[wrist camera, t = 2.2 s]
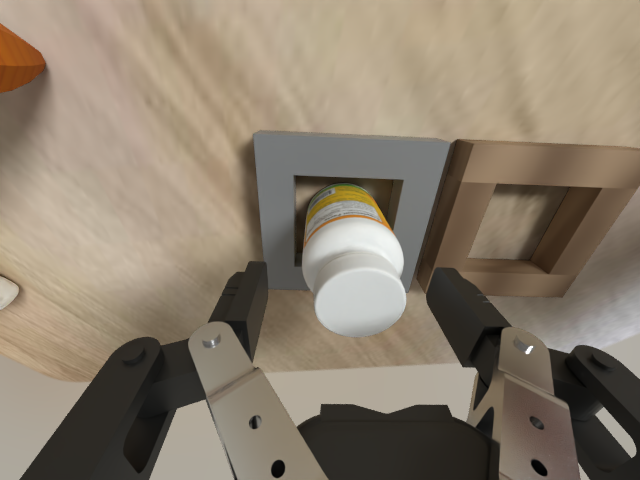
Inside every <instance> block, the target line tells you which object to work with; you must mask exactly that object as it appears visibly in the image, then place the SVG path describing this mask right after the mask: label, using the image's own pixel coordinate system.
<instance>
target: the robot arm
mask: <svg viewBox="0 0 640 480" xmlns="http://www.w3.org/2000/svg"><path fill="white" fill-rule="evenodd" d="M267 300H268V276H267V264H266V262H255V261H250V262H249V263H248V266H247V268H246V270H245V272H236V273H235V274H234V275H233V276H232V277H231V278H230V279H229V280H228V282H227V284H226V286H225V289H224V290H223V292H222V296H221V297H220V299H219V301H218V303H217V305H216V307H215V309H214V311H213V313H212V315H211V317H210V319H209V321H208V323H207V324H205V325H203V326H201V327H199V328H198V329H197V330H195V331H194V333H193V334H192V335H191V337H190V338H188V339H186V340H182V341H179V342H174V343H170V344H166V345H162V346H161V345H160V343H159V341H158V340H157V339H155V338H152V337H142V338H137V339H134V340H132V341H129V342H127V343H126V344H124V345H122V346H121V347H119V348H118V349H117V350H116V351H115V352H114V353H113V354H112V355H111V356H110V357H109V359H108V360H107V361H106V363H105V364H104V366H103V367H102V368H101V370H100V371H99V372H98V374H97V375H96V376H95V378H94V379H93V380H92V382H91V383H90V385H89V386H88V387H87V389H86V390H85V391H84V393H83V394H82V396H81V397H80V398H79V400H78V401H77V402H76V404H75V405H74V406H73V408H72V409H71V410H70V412H69V413H68V414H67V416H66V417H65V419H64V420H63V421H62V423H61V424H60V426H59V427H58V428H57V429H56V431H55V432H54V434H53V435H52V436H51V438H50V439H49V440H48V442H47V443H46V444H45V446H44V447H43V449H42V450H41V451H40V453H39V454H38V455H37V457H36V458H35V459H34V461H33V462H32V463H31V465H30V466H29V468H28V469H27V470H26V472H25V473H24V474H23V476H22V477H21V478H20V480H149V478H150V476H151V473H152V471H153V468H154V465H155V463H156V460H157V458H158V455H159V452H160V450H161V448H162V445H163V443H164V440H165V437H166V435H167V432H168V430H169V427H170V425H171V422H172V419H173V417H174V415H175V412H176V410H177V408H180V407H183V406H186V405H189V404H192V403H195V402H198V401H201V400H205V399H206V402H207V405H208V408H209V410H210V413H211V416H212V419H213V421H214V424H215V427H216V430H217V433H218V435H219V438H220V441H221V443H222V446H223V449H224V452H225V455H226V458H227V461H228V464H229V466H230V469H231V472H232V475H233V478H234V480H581V479H580V473H579V467H578V463H579V464H580V466H581V467H582V469H583V470H584V472H585V473H586V474H587V476H588V477H589V479H590V480H640V379H639V378H637V377H636V376H635V375H634V374H633V373H632V372H631V371H630V370H629V369H628V368H626V367H625V366H624V365H623V364H622V363H621V362H619V361H618V360H617V359H615V358H614V357H612V356H610V355H609V354H607V353H605V352H603V351H601V350H599V349H597V348H594V347H591V346H586V345H578V346H576V347H575V348H574V349H573V350H572V351H571V353H570V354H568V353H565V352H561V351H557V350H553V349H549V348H547V347H546V345H545V344H544V343H543V342H542V341H541V340H540V339H538V338H537V337H536V336H534V335H533V334H531V333H529V332H527V331H525V330H522V329H519V328H515V327H512V326H511V325H510V324H509V323H508V322H507V320H506V319H505V318H504V317H503V316H502V315H501V314H500V312H499V311H498V310H497V309H496V308H495V307H494V306H493V305H492V303H489V300H488V299H487V298H486V297H485V296H483V293H482V292H481V291H480V290H479V289H478V288H477V286H476V285H474V284H473V283H471V282H470V281H468V280H467V279H464V278H463V277H462V276H461V275H460V274H459V272H458V271H457V270H456V269H455V268H447V267H437V268H435V270H434V272H433V275H432V278H431V281H430V284H429V287H428V290H427V293H426V300H427V304H428V306H429V308H430V310H431V311H432V313H433V315H434V317H435V319H436V320H437V322H438V324H439V326H440V327H441V329H442V331H443V333H444V335H445V336H446V338H447V340H448V342H449V344H450V345H451V347H452V349H453V351H454V352H455V354H456V356H457V358H458V360H459V361H460V363H461V365H462V367H475V368H476V369H477V371H478V372H477V374H476V376H475V380H474V386H473V391H472V398H471V403H470V408H469V414H468V418H467V421H466V422H464V421H462V420H460V419H457V418H455V417H452V415H451V413H450V410H449V408H448V406H447V405H414V406H411V407H408V408H405V409H402V410H399V411H396V412H392V413H389V414H385V413H381V412H377V411H374V410H371V409H367V408H364V407H360V406H356V405H353V404H321V410H320V411H321V412H320V415H317V416H314V417H312V418H310V419H308V420H306V421H304V422H303V423H301V424H300V425H298V426H297V427H296V426H295V424H294V423H293V421H292V419H291V418H290V416H289V414H288V413H287V411H286V409H285V408H284V406H283V404H282V403H281V401H280V399H279V398H278V396H277V394H276V393H275V391H274V389H273V388H272V386H271V385H270V383H269V381H268V380H267V378H266V376H265V374H264V373H263V371H262V370H261V369H260V368H259V367H257V368H255V367H254V366H253V364H252V363H253V359H254V354H255V350H256V346H257V342H258V338H259V334H260V329H261V325H262V321H263V317H264V313H265V308H266V304H267ZM603 407H605V408H606V410H608V412H609V413H610V414H611V415H612V416H613V417H614V419H615V420H616V421H617V422H618V423H619V424H620V425H621V426H622V427H623V429H624V430H625V431H626V432H627V433H628V434H629V435H630V436H631V438H632V439H633V441H634V443H635V445H636V450H637V452H636V455H635V456H634V457H633V458H631V457H630V456H629V455H628V453H627V452H626V451H625V450H624V449H623V448H622V446H621V445H620V444H619V443H618V442H617V440H616V439H615V438H614V437H613V436H612V434H611V433H610V432H609V431H608V430H607V429H606V427H605V426H604V425H603V424H602V423H601V422H600V420H599V419H598V418H597V417H596V416H595V414H596V413H597V412H598V411H599V410H601V409H602V408H603Z"/></svg>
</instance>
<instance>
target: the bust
mask: <svg viewBox="0 0 640 480" xmlns="http://www.w3.org/2000/svg"><path fill="white" fill-rule="evenodd" d="M18 293H19V287H18V286H17V285H16V284H15V283H13V282H11V281H10V280H8V279H6V278H4V277H1V276H0V310H1V309H3V308H5V307H6V306H7V305H9V304H10V303H11V302H12V301H13V300H14V299H15V297H16V296H17V295H18Z"/></svg>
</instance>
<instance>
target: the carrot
mask: <svg viewBox="0 0 640 480" xmlns="http://www.w3.org/2000/svg"><path fill="white" fill-rule="evenodd" d="M45 64H46V63H45V61H44V58H43V56H42V54H41V53H40V52H39V51H38V50H36V49H35V48H34V47H33V46H31V45H30V44H28V43H27V42H26V41H24V40H23V39H21V38H20V37H19V36H17V35H16V34H14V33H13V32H12V31H10V30H9V29H7V28H6V27H5V26H3V25H2V24H0V93H2V92H7V91H12V90H14V89H16V88H18V87H20V86H22V85H24V84H27V83H29V82H31V81H32V80H33V79H34V78H35V77H36V76H38V75H39V74H40V73H41V72H42V71H43V70H44V67H45Z"/></svg>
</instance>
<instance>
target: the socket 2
mask: <svg viewBox="0 0 640 480" xmlns="http://www.w3.org/2000/svg"><path fill="white" fill-rule="evenodd" d="M497 183H499V184H524V185H549V186H571V187H570V189H569V190H568V192H567V194H566V196H565V198H564V200H563V201H562V203H561V205H560V207H559V209H558V210H557V212H556V214H555V216H554V218H553V219H552V221H551V223H550V225H549V227H548V228H547V230H546V232H545V234H544V236H543V238H542V239H541V241H540V243H539V245H538V247H537V248H536V250H535V252H534V254H533V256H532V257H531V259H530V260H506V259H475V258H467V257H468V254H469V252H470V249H471V247H472V244H473V242H474V239H475V237H476V234H477V232H478V229H479V227H480V224H481V222H482V219H483V217H484V214H485V212H486V209H487V207H488V204H489V202H490V199H491V197H492V194H493V192H494V189H495V187H496V184H497ZM639 186H640V149H638V148H631V147H620V146H597V145H575V144H553V143H531V142H508V141H486V140H464V139H457V142H456V145H455V149H454V152H453V156H452V159H451V163H450V166H449V169H448V173H447V176H446V180H445V183H444V186H443V190H442V193H441V197H440V200H439V203H438V207H437V210H436V214H435V217H434V220H433V224H432V227H431V231H430V234H429V237H428V241H427V244H426V248H425V251H424V254H423V258H422V261H421V265H420V268H419V271H418V275H417V278H416V279H417V280H418V282H419V284H420V286H421V287H422V289H423V291H424V293H425V294H426V293H427V290H428V287H429V284H430V281H431V278H432V275H433V272H434V270H435V268H437V267H447V268H455V269H456V270H457V271H458V272H459V274H460V275H461V276H462V277H463V278H464V279H467V280H468V281H470V282H471V283H473V284H474V285H476V286H477V288H478V289H479V290H480V291H481V292H482V293H483V295H492V296H527V297H563V296H564V294H565V293H566V291H567V290H568V288H569V287H570V286H571V284H572V283H573V281H574V280H575V278H576V277H577V275H578V274H579V273H580V271H581V270H582V268H583V267H584V265H585V264H586V262H587V261H588V259H589V258H590V257H591V255H592V254H593V252H594V251H595V249H596V248H597V246H598V245H599V244H600V242H601V241H602V239H603V238H604V236H605V235H606V233H607V232H608V231H609V229H610V228H611V226H612V225H613V223H614V222H615V220H616V219H617V218H618V216H619V215H620V213H621V212H622V210H623V209H624V207H625V206H626V204H627V203H628V202H629V200H630V199H631V197H632V196H633V194H634V193H635V191H636V190H637V189H638V187H639Z"/></svg>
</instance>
